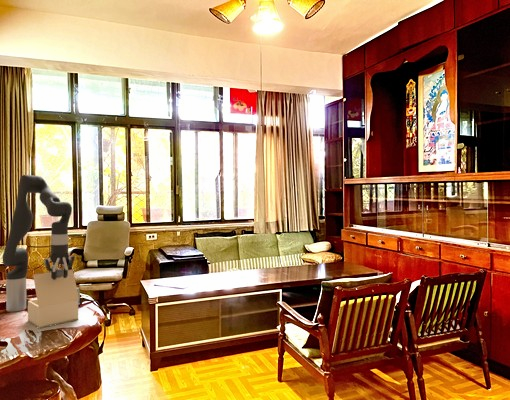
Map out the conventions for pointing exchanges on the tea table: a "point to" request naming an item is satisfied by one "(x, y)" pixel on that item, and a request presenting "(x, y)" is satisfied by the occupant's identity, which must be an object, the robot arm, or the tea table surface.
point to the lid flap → (55, 288)
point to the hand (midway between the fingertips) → (59, 278)
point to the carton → (52, 313)
